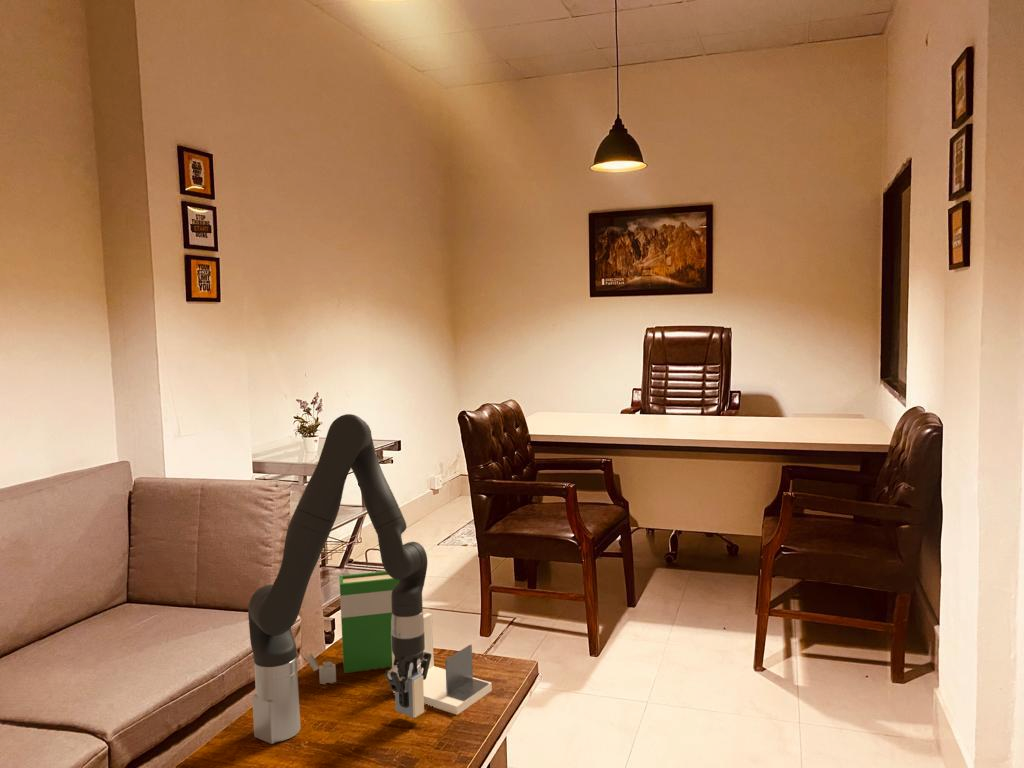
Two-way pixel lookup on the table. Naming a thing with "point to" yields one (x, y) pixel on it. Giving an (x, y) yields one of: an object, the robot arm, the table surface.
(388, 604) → the hardback book
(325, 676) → the lighter
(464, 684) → the bookend
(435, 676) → the shelf
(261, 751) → the table surface
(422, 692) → the small book
